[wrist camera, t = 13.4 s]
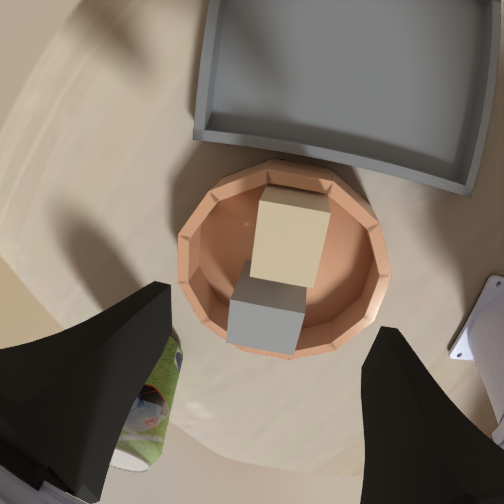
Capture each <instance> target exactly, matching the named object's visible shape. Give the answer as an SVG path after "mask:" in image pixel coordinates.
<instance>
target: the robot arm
mask: <svg viewBox="0 0 504 504" xmlns="http://www.w3.org/2000/svg"><path fill="white" fill-rule="evenodd" d="M497 282H499V283H498V284H497ZM171 331H172V311H171V285H169V284H165V283H161V282H157V281H154V282H152V283H150V284H148V285H147V286H145V287H143V288H142V289H140V290H139V291H137V292H135V293H134V294H132V295H130V296H129V297H127V298H125V299H124V300H122V301H120V302H119V303H117V304H115V305H114V306H112V307H110V308H108V309H107V310H105V311H103V312H101V313H99V314H97V315H95V316H94V317H92V318H90V319H88V320H86V321H84V322H82V323H80V324H78V325H76V326H73V327H71V328H69V329H66V330H64V331H62V332H59V333H57V334H54V335H51V336H48V337H45V338H42V339H39V340H36V341H33V342H29V343H26V344H22V345H18V346H14V347H9V348H4V349H0V504H86V503H84V502H82V501H80V500H79V499H81V500H83V501H85V502H87V503H89V504H92V503H96V502H98V501H100V497H101V493H102V489H103V485H104V482H105V478H106V475H107V471H108V468H109V465H110V462H111V459H112V456H113V453H114V450H115V447H116V445H117V442H118V439H119V437H120V434H121V431H122V429H123V426H124V424H125V422H126V419H127V417H128V414H129V412H130V410H131V408H132V406H133V404H134V402H135V400H136V398H137V396H138V395H139V393H140V391H141V389H142V388H143V386H144V384H145V383H146V381H147V379H148V377H149V376H150V374H151V372H152V371H153V369H154V367H155V365H156V364H157V362H158V360H159V358H160V357H161V355H162V353H163V351H164V348H165V346H166V344H167V341H168V339H169V336H170V334H171ZM449 357H450V358H452V359H462V360H475V363H476V365H477V368H478V370H479V373H480V375H481V378H482V380H483V383H484V385H485V388H486V391H487V393H488V396H489V399H490V402H491V404H492V407H493V410H494V413H495V416H496V419H497V422H498V425H499V426H498V428H497V429H496V430H495V431H493V432H492V437H493V441H494V442H493V441H492V440H491V439H490V438H489V437H487V436H486V435H485V434H484V433H483V432H482V431H480V430H479V429H478V428H477V427H476V426H475V425H474V424H473V423H472V422H471V421H470V420H469V419H468V418H467V417H466V416H465V415H464V414H463V413H462V412H461V411H460V410H459V409H458V408H457V407H456V405H455V404H454V403H453V402H452V401H451V400H450V399H449V397H448V396H447V395H446V394H445V393H444V391H443V390H442V389H441V387H440V386H439V385H438V384H437V382H436V381H435V380H434V378H433V377H432V376H431V374H430V373H429V372H428V370H427V369H426V368H425V366H424V365H423V363H422V362H421V361H420V359H419V358H418V356H417V355H416V353H415V352H414V351H413V349H412V348H411V346H410V345H409V343H408V342H407V341H406V339H405V338H404V336H403V335H402V334H401V332H400V331H399V330H398V329H397V328H391V327H384V326H381V328H380V330H379V332H378V334H377V337H376V339H375V341H374V343H373V345H372V347H371V349H370V351H369V353H368V355H367V358H366V360H365V362H364V364H363V366H362V372H361V401H362V413H363V425H364V439H365V465H364V478H363V487H362V494H361V502H360V504H504V277H502V276H497V275H492V276H490V277H489V278H488V280H487V282H486V284H485V287H484V289H483V291H482V293H481V295H480V297H479V299H478V301H477V303H476V305H475V307H474V309H473V310H472V312H471V314H470V316H469V318H468V320H467V322H466V323H465V325H464V327H463V329H462V331H461V332H460V334H459V336H458V337H457V339H456V341H455V343H454V344H453V346H452V348H451V349H450V351H449ZM66 492H67V493H69V494H71V495H72V496H71V495H69V494H67V493H66ZM73 496H74V497H73ZM75 497H77V498H79V499H77V498H75Z"/></svg>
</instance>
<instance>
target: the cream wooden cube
mask: <svg viewBox="0 0 504 504" xmlns="http://www.w3.org/2000/svg"><path fill="white" fill-rule="evenodd" d="M330 215H331V211H330V204H329V197H328V194H326V193H321V192H316V191H310V190H305V189H300V188H295V187H289V186H284V185H278V184H273V183H268V184H267V186H266V188H265V190H264V192H263V194H262V196H261V198H260V200H259V208H258V215H257V223H256V231H255V239H254V246H253V254H252V262H251V270H250V277H254V278H260V279H265V280H270V281H275V282H281V283H286V284H292V285H297V286H303V287H308V288H313V287H314V283H315V279H316V275H317V271H318V267H319V263H320V258H321V254H322V250H323V246H324V241H325V237H326V233H327V228H328V224H329V219H330Z"/></svg>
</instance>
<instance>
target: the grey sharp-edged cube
mask: <svg viewBox="0 0 504 504" xmlns="http://www.w3.org/2000/svg"><path fill="white" fill-rule="evenodd" d="M251 262H252V261H249V260H246V261H245V263H244V266H243V268H242V271H241V273H240V276H239V278H238V281H237V283H236V286H235V288H234V291H233V293H232V296H231V298H230V305H229V316H228V327H227V338H226V343H231V344H236V345H240V346H245V347H250V348H255V349H260V350H265V351H270V352H276V353H281V354H287V355H292V356H293V355H294V352H295V348H296V345H297V341H298V338H299V334H300V331H301V327H302V323H303V320H304V316H305V308H306V292H307V287H303V286H297V285H292V284H286V283H281V282H275V281H270V280H265V279H260V278H254V277H250V270H251Z"/></svg>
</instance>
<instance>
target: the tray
mask: <svg viewBox="0 0 504 504" xmlns="http://www.w3.org/2000/svg"><path fill="white" fill-rule="evenodd" d="M500 25H501V0H209V4H208V10H207V17H206V24H205V31H204V38H203V45H202V53H201V61H200V69H199V78H198V87H197V97H196V107H195V117H194V129H193V140H200V141H209V142H217V143H225V144H233V145H240V146H247V147H254V148H260V149H267V150H273V151H279V152H285V153H291V154H296V155H302V156H307V157H312V158H318V159H323V160H327V161H332V162H337V163H342V164H346V165H351V166H355V167H360V168H364V169H368V170H373V171H377V172H381V173H385V174H389V175H393V176H397V177H400V178H404V179H408V180H412V181H415V182H419V183H422V184H426V185H429V186H433V187H436V188H440V189H443V190H446V191H449V192H453V193H456V194H459V195H462V196H465V197H468V198H471V195H472V192H473V189H474V185H475V182H476V178H477V175H478V171H479V167H480V163H481V159H482V155H483V151H484V147H485V142H486V138H487V133H488V128H489V123H490V117H491V112H492V106H493V100H494V93H495V86H496V78H497V69H498V59H499V46H500Z"/></svg>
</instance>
